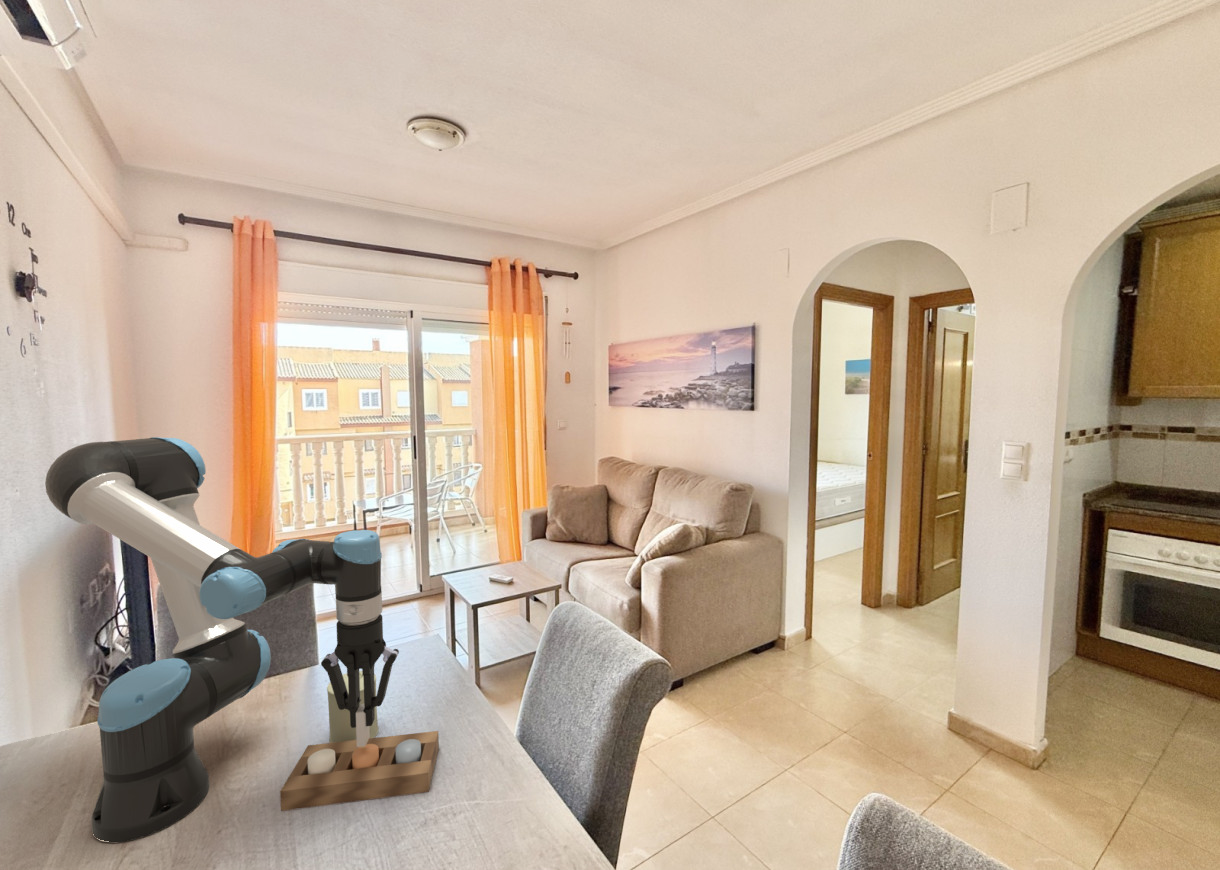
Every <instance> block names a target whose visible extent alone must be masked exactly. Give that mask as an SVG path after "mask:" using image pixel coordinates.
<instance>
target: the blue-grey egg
mask: <svg viewBox="0 0 1220 870" xmlns="http://www.w3.org/2000/svg"><path fill="white" fill-rule="evenodd" d="M418 761H421V743H420V741H419V740H416V739H409V740H405V741H403V742H401V743H400V744H398V745H397V747H396V764H401V763H410V762H418Z"/></svg>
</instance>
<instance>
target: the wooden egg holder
mask: <svg viewBox="0 0 1220 870" xmlns="http://www.w3.org/2000/svg"><path fill="white" fill-rule="evenodd" d="M439 735H440V734H439V730H434V731H433V730H432V731H425V732H424V731H423V732H416V733H414V732H413V733H407V734H398V735H397V734H396V735H389V736H388V735H387V736H379V737H378V736H377V737H374V738H370V739H369V740H368V742H367V744H375V745H377V746H378V749H379V762H378V765H377V767H368V768H360V769H353V764H352V754H353V752H354V751H355V750H356V749H357V748H359V747H357V740H352V741H343V742H334V743H329V742H326V743H317V744H309V745H307V747H306V748H304V751H303V752H302V754H301V756H300V758H299V759H298V761H297V763H296V764H295V766H294V768H293V769H292V771H291V772H290V774H289V776H288V778H287V779H286V780H285V783H284V784H283V786H282V787H281V789H280V791H279V797H280V799H279V801H280V811H281V812H283V811H284V812H285V811H291V810H298V809H299V810H300V809H307V808H313V807H322V806H328V805H329V806H331V805H337V804H344V803H351V802H353V803H354V802H359V801H367V800H368V801H369V800H376V799H382V798H383V799H384V798H391V797H398V796H399V797H400V796H405V795H413V794H422V793H429V791H430V789H431V784H432V779H433V775H434V770H435V766H436V762H437V759H438V758H437V757H438V754H439V748H440V742H439V741H440V740H439V739H440V737H439ZM409 739H416V740H419V741H420V743H421V761H418V762H410V763H401V764H396V747H397V745H398V744H400V743H401V742H403V741H405V740H409ZM323 749H332V750H334V751H335V761H336V765H335V767H334V769H333V771H332V772H327V773H319V774H310V775H308V758H309V757H310V756H311V755H312V754H313V753H315V752H317V751H319V750H323Z"/></svg>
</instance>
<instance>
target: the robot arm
mask: <svg viewBox="0 0 1220 870" xmlns="http://www.w3.org/2000/svg"><path fill="white" fill-rule="evenodd" d="M203 458H204V457H202V455H201V453H200V452H199V451H198V449H197V448H196V447H194V446H193V445H192V444H191V443H189V442H187V441H185V440H183V439H181V438H178V437H159V436H157V437H153V436H152V437H149V438H138V439H126V440H125V439H124V440H113V441H111V440H109V441H95V442H93V441H92V442H88V443H83V444H80V445H77V446H75V447H73V448H70V449H68V450H66V451H65V452H63V453H62V454H61V455H59V456H58V457H57V458H56V459H55V460H54V461H53V463H52V464H51V465H50V467H49V469H48V470H47V472H46V476H45V482H44V484H45V492H46V495H47V496H48V499H49V501H50V502H51V504H52V505H53V506H54V508H56V510H58V511H59V512H61V514H63V515H65V516H66V517H68V518H69V519H71V520H73V521H75V522H76V523H79V524H82V525H95V526H97V527H99V528H100V529H102V530H104V531H106V532H107V533H109V534H110V535H112V536H114V537H115V538H117V539H119V540H121V541H122V542H123V543H125V544H126V545H129V547H132V548H134V549H136V550H137V551H139V552H140V553H142V554H144V555H146V556H148V558H150V560H151V562H152V566H153V567H154V572H155V575H156V577H157V579H158V583H159V585H160V589H161V592H162V594H163V597H164V600H165V603H166V605H167V609H168V611H169V613H170V617H171V620H172V623H173V625H174V629H175V632H176V634H177V636H178V642H177V644H176V645H175V646H174V648H173V649H172V656H173V657H172V658H171V657H170V658H164V659H159V660H155V661H152V663H150V664H147V663H145V664H143V665H139V666H138V667H135V668H133V669H132V670H129V671H127V672H126V673H124V674H122V675H120V676H119V677H118V678H116V679H115V680H112V682H110V684H109V685H108V686H107V687H106V688H105V689H104V691H103V692H102V694H101V696H100V699H99V702H98V716H97V725H98V727H99V737H100V750H101V760H102V771H103V782H102V785H101V787H100V790H99V794H98V796H97V800H96V803H95V806H94V808H93V812H92V815H91V832H93V833H92V835H93V834H94V836H95V837H96V838H98V839H100V840H104V841H109V842H118V843H123V842H124V843H125V842H130V841H134V840H138V839H141V838H145V837H147V836H150V835H152V834H154V833H158V832H160V831H161V830H163V829H165V828H167V827H170V826H172V825H173V824H175V823H176V822H179V820H181V819H183V818H185V817H186V816H187V815H188V814H190V813H191V812H193V810H195V809H196V808H197V807H198V806H199V805H200V804H201V803H202V801H203V800H204V799H205V798H206V796H207V795H208V792H209V789H210V777H209V772H208V770H207V768H206V767H205V765H204V763H203V760H202V759H201V758H200V757H201V756H199V754H198V752H197V750H196V748H195V741H194V740H195V739H194V728H195V726H197V725H198V724H200V723H202V722H203V721H204V720H206V719H208V718H210V717H211V716H212V715H215V714H216V713H218V712H219V711H220V710H223V709H224V708H226V707H227V706H229V705H230V704H232V703H234V702H235V701H237V700H239V699H242V698H244V697H245V696H246V695H248V694H249V693H250V692H251V691H252V690H253V689H255V688H256V687H258V686H259V685H260V684H261V683H262V682H263V681H264V679H265V678H266V676H267V673H268V672H269V670H270V666H271V659H272V657H271V649H270V645H269V643H268V641H267V639H266V638H265V637H264V635H260V632H258V631H256V630H254V629H247V625H246V623H245V621H242V620H239V619H236V617H238V616H240V615H244V614H246V613H251V612H253V611H255V610H257V609H258V608H260V607H261V606H264V605H265V604H268V603H270V602H272V601H274V600H277V599H278V598H282V597H283V596H285V595H288V594H290V593H292V592H295V591H297V590H298V589H301V588H303V587H305V586H308V585H310V584H316V585H317V584H320V585H321V584H322V585H334V590H335V591H334V592H335V612H336V613H335V615H336V620H337V622H336V646H335V649H334V651H333V652H331V653H327V654H326V655H325V656H324V658H323V659H322V661H321V662H320V664H321V667H322V668H323V669H324V671H325V672H327V675H328V678H329V683H330V682H331V686H332V689H333V692H334V695H335V698H336V702H337V705H338V708H339V709H340V710H343V709H347V710H349V711H350V725H351V727H352V728H355V727H356V738H357V747H365V746H366V744H367V742H368V740H369V737H370V732H369V726H372V724H373V722H374V719H375V709H374V707H376V706H377V707H381V705H382V704H383V701H384V700H385V697H386V695H387V694H386V693H387V689H388V687H389V686H388V685H389V681H390V677H391V674H392V668H393V664H394V663H395V661H396V659H397V657H398V656H399V653H400V650H399V649H398V648H394V649H392V648H390V647H388V646H387V643H386V641H385V640H384V629H383V627H384V626H383V624H384V623H383V615H382V613H383V597H382V595H383V594H382V575H381V574H382V558H383V557H382V556H383V555H382V551H381V540H380V536H379V534H378V533H377V532H376V531H374V530H370V529H369V530H368V529H360V530H359V529H358V530H357V529H356V530H347V531H344V532H341V533H339V534H337V535H336V536H335V537H334V539H333V541H326V540H312V539H306V538H298V539H286V540H283V541H281V542H279V544H278V545H277V546H276V547H275V548H274V549H273V550H272V552H270V553H267V554H264V555H261V556H257V557H256V556H253V555H251V554H250V553H249V552H247V551H244V550H243V549H241V548H240V547H237V546H236V545H234V544H233V543H231V542H229V541H227V540H226V539H224V538H223V537H221V536H219V535H217V534H215V533H214V532H212V531H210V530H209V529H207V528H205V527H203V526H202V525H201V524H200V522H199V518H198V516H197V513H196V510H195V507H194V504H195V503H196V502H197V500H198V499H199V497H200V493H199V490H198V489H199V488H200V487H201V486H202V485H203V483H204V481H205V476H204V475H206V464H205V461H204V459H203ZM382 655H383V658H382V660H383V662H384V665H383V668H382V671H381V675H380V679H379V683H378V688H377V691H376V696H375V683H374V674H375V664H376V663H377V661H378V660H379V658H380V657H381V656H382ZM339 662H341V663H342V664H343V666H344V667H345V668H346V674H347V676H348V690H349V695H348V692H347V688H346V685H345V682H344V678H343V675H344V674H343V672H342V670H341V666H340V663H339ZM360 670H361V671H362V674H363V679H364V704H360V706H359V703H360V701H361V699H360V678H359V671H360ZM94 836H93V837H94ZM95 837H94V838H95ZM96 838H95V839H96Z"/></svg>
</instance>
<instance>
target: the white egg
mask: <svg viewBox="0 0 1220 870" xmlns="http://www.w3.org/2000/svg"><path fill="white" fill-rule="evenodd" d="M335 765H336V761H335V751H334V750H332V749H323V750H319V751H317V752H315V753H313V754H312V755H311V756H310V757H309V758H308V775H310V774H319V773H327V772H332V771H333V769H334V767H335Z"/></svg>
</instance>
